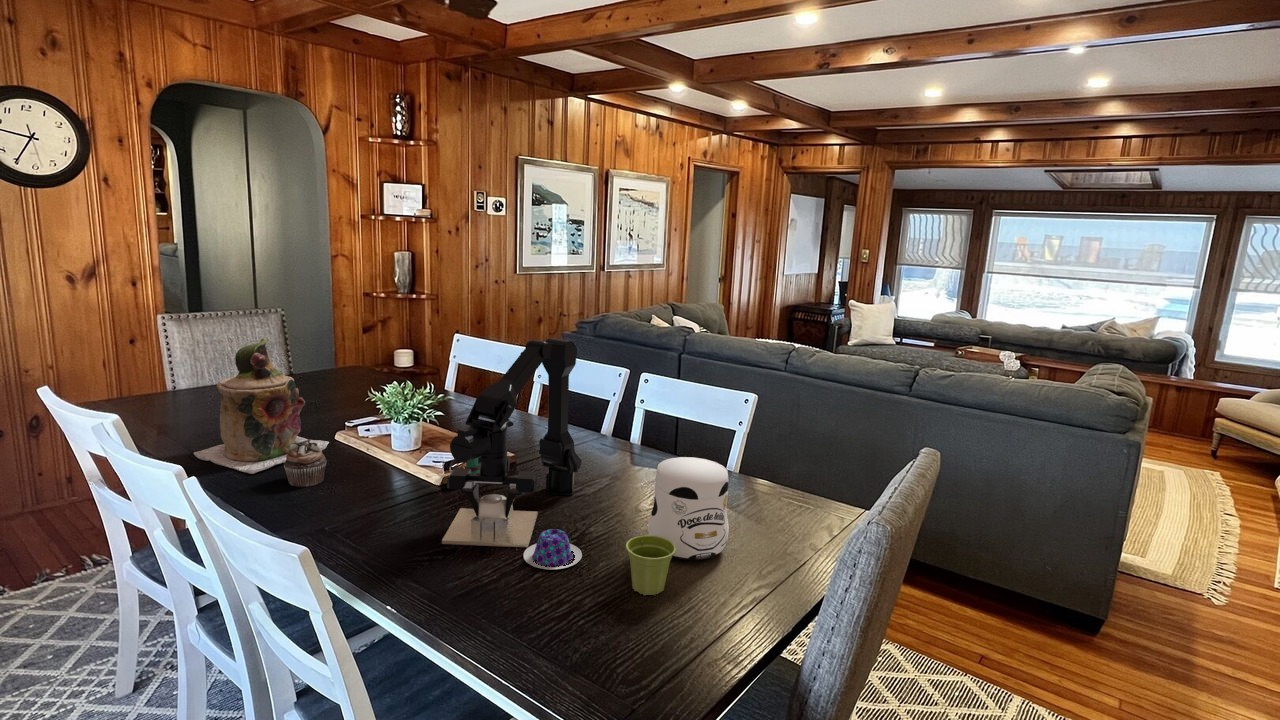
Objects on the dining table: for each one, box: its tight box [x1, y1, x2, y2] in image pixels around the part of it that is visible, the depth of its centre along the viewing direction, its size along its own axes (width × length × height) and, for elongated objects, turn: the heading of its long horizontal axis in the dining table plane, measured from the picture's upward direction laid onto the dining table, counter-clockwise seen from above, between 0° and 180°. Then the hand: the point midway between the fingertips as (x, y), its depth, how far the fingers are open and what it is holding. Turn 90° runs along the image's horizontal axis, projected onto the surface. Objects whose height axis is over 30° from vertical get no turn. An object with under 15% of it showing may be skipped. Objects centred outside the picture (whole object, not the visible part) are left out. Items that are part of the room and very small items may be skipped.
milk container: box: [647, 456, 730, 561], centre depth 143 cm, size 17×17×18 cm
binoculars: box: [449, 458, 480, 475], centre depth 175 cm, size 9×11×10 cm
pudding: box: [523, 528, 583, 570], centre depth 137 cm, size 12×12×5 cm
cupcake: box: [283, 439, 328, 488], centre depth 167 cm, size 10×10×10 cm
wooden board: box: [441, 504, 539, 548], centre depth 148 cm, size 18×16×4 cm
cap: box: [479, 493, 507, 519], centre depth 147 cm, size 6×6×6 cm
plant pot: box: [625, 534, 676, 596], centre depth 127 cm, size 9×9×9 cm
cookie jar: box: [193, 337, 330, 475], centre depth 182 cm, size 25×25×32 cm
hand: (492, 516), depth 148 cm, fingers closed on cap, 6 cm apart
